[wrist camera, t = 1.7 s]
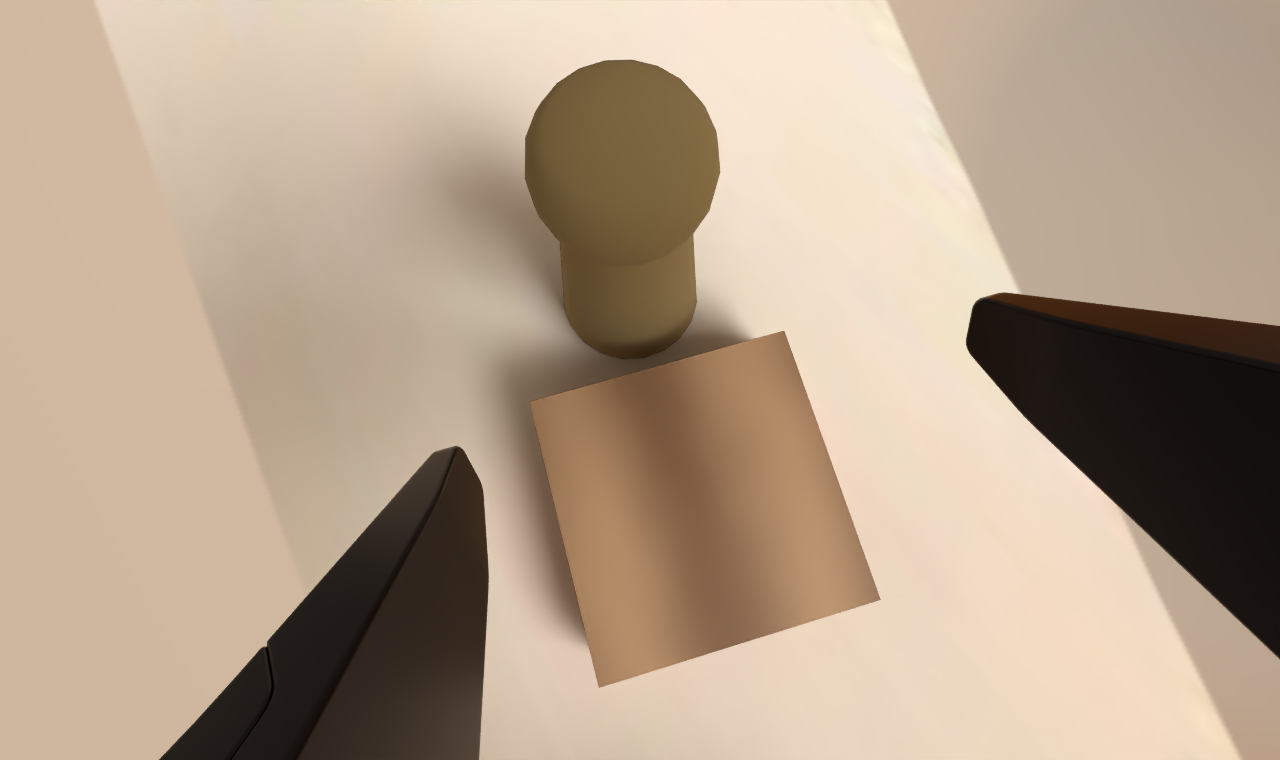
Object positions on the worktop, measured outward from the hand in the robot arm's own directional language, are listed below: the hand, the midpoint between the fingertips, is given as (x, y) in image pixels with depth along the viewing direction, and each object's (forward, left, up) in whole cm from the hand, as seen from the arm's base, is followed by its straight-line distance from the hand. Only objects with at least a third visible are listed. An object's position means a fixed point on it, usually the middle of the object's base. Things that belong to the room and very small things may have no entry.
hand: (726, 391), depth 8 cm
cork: (+5, -5, -13) cm, 15 cm away
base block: (-2, +2, -13) cm, 13 cm away
